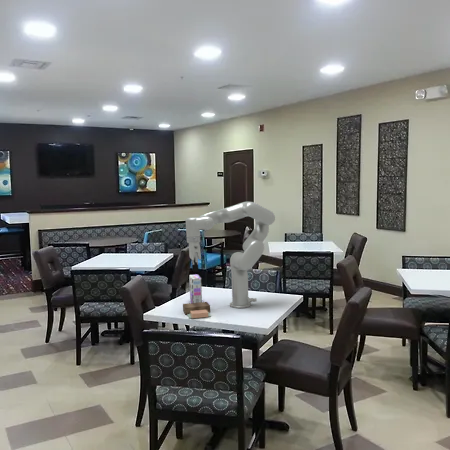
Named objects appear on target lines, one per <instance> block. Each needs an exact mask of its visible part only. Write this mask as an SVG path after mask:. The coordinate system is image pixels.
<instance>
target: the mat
mask: <svg viewBox="0 0 450 450" xmlns="http://www.w3.org/2000/svg"><path fill="white" fill-rule="evenodd" d="M186 316H187V317H188V319H189V320H190V319H193V318H191V316H190V314H187V315H186ZM211 317H212V315H211V313H209V312H208V317H207V318H211ZM201 318H202V319H203V318H204V317H201ZM201 318H200V319H201Z"/></svg>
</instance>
